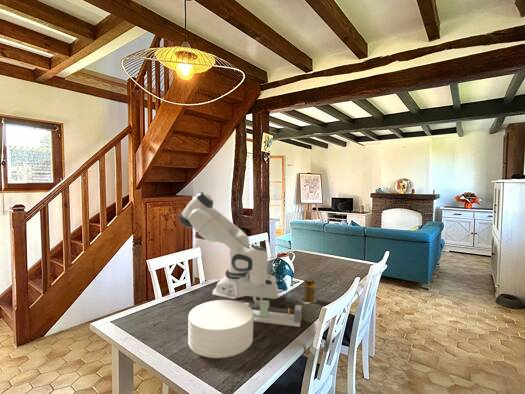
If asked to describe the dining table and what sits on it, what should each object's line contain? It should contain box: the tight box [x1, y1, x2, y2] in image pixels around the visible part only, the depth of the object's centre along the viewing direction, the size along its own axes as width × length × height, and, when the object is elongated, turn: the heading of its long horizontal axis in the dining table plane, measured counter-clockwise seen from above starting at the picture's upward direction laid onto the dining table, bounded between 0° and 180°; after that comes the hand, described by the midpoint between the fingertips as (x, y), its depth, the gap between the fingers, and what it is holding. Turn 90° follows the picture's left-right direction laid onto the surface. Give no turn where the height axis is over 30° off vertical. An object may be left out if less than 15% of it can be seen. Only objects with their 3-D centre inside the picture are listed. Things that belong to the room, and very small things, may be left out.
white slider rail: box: [243, 302, 302, 328], centre depth 143 cm, size 30×10×7 cm, turn 78°
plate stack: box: [187, 299, 254, 359], centre depth 124 cm, size 28×28×12 cm
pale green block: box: [259, 299, 270, 317], centre depth 144 cm, size 4×4×6 cm
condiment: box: [298, 278, 318, 305], centre depth 166 cm, size 7×8×12 cm
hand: (257, 304), depth 144 cm, fingers closed
